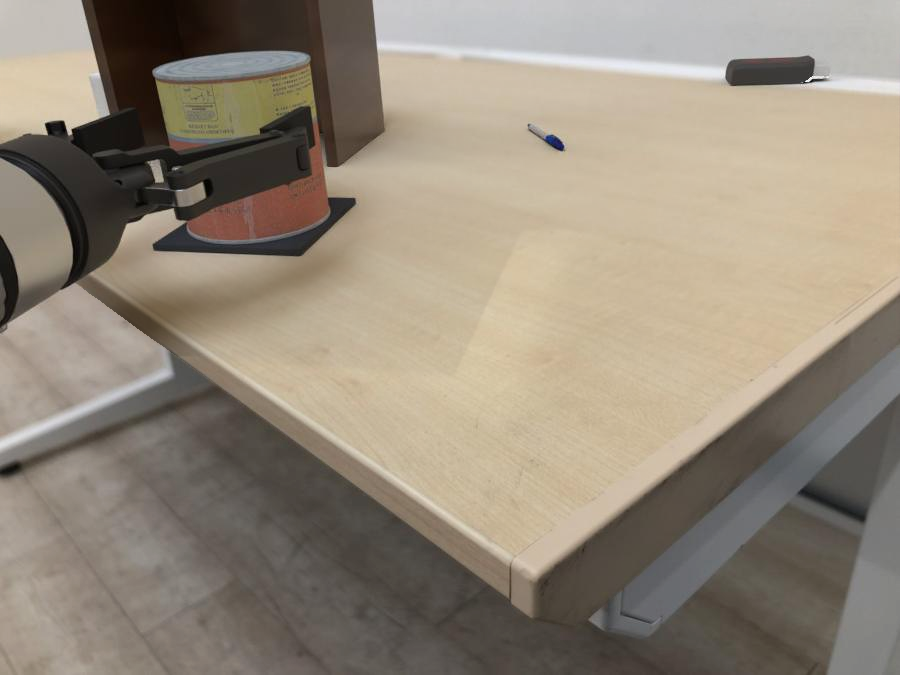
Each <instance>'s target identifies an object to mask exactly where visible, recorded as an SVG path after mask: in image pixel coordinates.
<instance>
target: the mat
mask: <svg viewBox="0 0 900 675" xmlns="http://www.w3.org/2000/svg"><path fill="white" fill-rule="evenodd" d="M327 197H328V205H329V206H330V211H331V213H330V216H329V217H328V219H327V220H326V221H325V222H324V223H322V224H321V225H319V226H317V227H316V228H314V229H312V230H309V231H307V232H304V233H302V234H299V235H296V236H292V237H289V238H284V239H280V240H275V241H270V242H263V243H255V244H242V245H225V244H214V243H208V242H203V241H200V240H197V239H195V238H193V237H192V236H190V234H189V233H188V231H187V221H185V222H184V223H183V224H181V225H179V226H178V227H177V228H175V229H173V230H172V231H170V232H168V233H167V234H166V235H164V236H163V237H161V238H159V239H157V241H155V242H153V243H152V245H151V246H152V248H153V250H154V251H169V252H170V251H171V252H196V253H221V254H245V255H246V254H247V255H271V256H273V255H276V256H298V257H300V256H301V255H303V254H304V253H305V252H306V251H307V250H308V249H309V248H310V247H311V246H312V245H313V244H315V242H316V241H317V240H318V239H319V238H321V237H322V236H323V235H324V234H325V233H326V232H327V231H328V230H329V229H331V227H332V226H333V225H335V224H336V223H337V222H338V221H339V220H340V219H341V218H342V217H343V216H344V215H345V214H346V213H347V212H349V211H350V209H352V208H353V207H354V206H355V205H356V204H357V200H356V197H341V196H340V197H339V196H338V197H336V196H335V197H333V196H332V197H331V196H327Z"/></svg>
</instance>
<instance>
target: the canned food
mask: <svg viewBox="0 0 900 675" xmlns="http://www.w3.org/2000/svg"><path fill="white" fill-rule="evenodd" d="M152 73H153V76H154V77H155V80H156V84H157V89H158V94H159V98H160V103H161V107H162V112H163V116H164V121H165V125H166V130H167V134H168V139H169V144H170V146H169V147H170V148H172V149H174V150H175V151H178V150H183V149H188V148H193V147H198V146H203V145H208V144H213V143H218V142H223V141H228V140H233V139H238V138H243V137H248V136H253V135H258V134H260V130H259V128H261V127H263V126H265V125H267V124H269V123H270V122H272V121H274V120H276V119H278V118H280V117H282V116H283V115H285V114H287V113H289V112H291V111H293V110H295V109H296V108H298V107H300V106H311V114H312V121H313V128H314V136H315V143H316V145H315V146H314V147H312V148H311V149H310V150H309V151H310V158H311V166H312V173H313V174H312V175H311V176H309V177H307V178H304V179H300V180H297V181H294V182H292V183H291V184H290V185H287V186H286V184H285V185H282V186H279V187H276V188H273V189H270V190H267V191H264V192H261V193H258V194H255V195H252V196H249V197H246V198H243V199H240V200H237V201H234V202H231V203H228V204H225V205H222V206H219V207H216V208H214V209H212V210H210V211H208V212H206V213H204V214H203V215H201V216H199V217H197V218H195V219H192V220H190V221H186V222H187V231H188V233H189V234H190V236H192V237H193V238H195V239H197V240H200V241H203V242H208V243H214V244H225V245H242V244H255V243H263V242H270V241H275V240H280V239H284V238H289V237H292V236H296V235H299V234H302V233H304V232H307V231H309V230H312V229H314V228H316V227H317V226H319V225H321V224H322V223H324V222H325V221H326V220H327V219H328V217H329V216H330V213H331V211H330V206H329V205H328V197H329V196H328V191H327V185H326V184H327V183H326V176H325V175H326V174H325V168H324V161H323V153H322V145H321V138H320V132H319V129H318V122H317V114H316V107H315V99H314V92H313V84H312V77H311V69H310V56H309V55H308V54H306V53H302V52H294V51H252V52H238V53H227V54H218V55H210V56H203V57H196V58H190V59H185V60H180V61H176V62H171V63H168V64H164V65H161V66H159V67H157V68H155V69H154V70H153V71H152Z"/></svg>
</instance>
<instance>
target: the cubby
mask: <svg viewBox="0 0 900 675" xmlns="http://www.w3.org/2000/svg"><path fill="white" fill-rule="evenodd" d="M80 1H81V4H82V9H83V13H84V17H85V21H86V24H87V29H88V33H89V37H90V41H91V44H92V49H93V53H94V57H95V62H96V65H97V69H98V72H99V73H100V77H101V81H102V85H103V89H104V93H105V97H106V101H107V105H108V109H109V113H110V114H113V113H116V112H119V111H121V110H124V109H127V108H137V110H138V115H139V119H140V123H141V128H142V132H143V136H144V140H145V145H144V146H142V147H140V148H138V149H142V148H147V147H152V146H157V145H165V146H168V147H170V144H169V139H168V134H167V130H166V125H165V121H164V116H163V112H162V107H161V103H160V98H159V94H158V89H157V84H156V80H155V77H154V76H153V73H152V71H153V70H154V69H155V68H157V67H159V66H161V65H164V64H168V63H171V62H176V61H180V60H185V59H190V58H196V57H203V56H210V55H218V54H227V53H238V52H252V51H294V52H302V53H306V54H308V55H309V56H310V69H311V77H312V84H313V92H314V99H315V107H316V114H317V122H318V129H319V133H322V138H323V145H324V152H325V159H326V166H327V167H339V166H341V165H342V164H343V163H345V162H346V161H347V160H349V159H350V158H352V156H353V155H355V154H356V153H357V152H359V151H360V150H361V149H363V148H364V147H365V146H366V145H368V144H369V143H370V142H372V141H373V140H375V138H377V137H378V136H379V135H381V134H382V133H383V132H384V131H386V129H385V128H386V126H385V116H384V108H383V107H384V106H383V96H382V95H383V94H382V86H381V76H380V75H381V74H380V65H379V53H378V52H379V51H378V43H377V31H376V22H375V11H374V10H375V9H374V1H373V0H80ZM135 150H137V149H135Z"/></svg>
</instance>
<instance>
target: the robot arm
mask: <svg viewBox="0 0 900 675" xmlns="http://www.w3.org/2000/svg"><path fill="white" fill-rule="evenodd" d="M44 126H45V130H46V134H41V133H40V134H39V133H36V134H35V133H33V134H32V133H31V132H30V133H23V134H22V135H21V136H18V137H16V138H13V139H10V140H7V141H6V142H1V143H0V335H2V334H4V332H6V331H7V330H8V324H9V323H11V322H12V321H14V320H16V319H18V318H19V317H20V316H22V315H24V314H25V313H27V312H29V311H30V310H31V309H33V308H35V307H36V306H38V305H40V304H41V303H43V302H44V301H46V300H48V299H49V298H51V297H52V296H55V294H57V293H58V292H60V291H63V290H64V289H67V288H69V287H70V286H72V285H74V284H75V283H77V282H78V281H80V280H82V279H83V278H85V277H86V276H88V275H89V274H91V273H92V272H94V271H96V270H97V269H99V268H100V267H102V266H104V265H105V264H106V263H108V262H109V261H110V260H111V258H113V256H114V255H115V253H116V252H117V251H118V248H119V246H120V244H121V240H122V238H123V235H124V232H125V229H126V228H127V225H128V224H132V223H133V224H134V223H136V222H139V221H141V220H142V219H143V218H144V217H145V216H147V215H152V214H155V213H160V212H164V211H168V210H172V209H173V213H174V216H175V220H177V221H180V222H182V221H183V222H187V221H190V220H192V219H195V218H197V217H199V216H201V215H203V214H204V213H206V212H208V211H210V210H212V209H214V208H216V207H219V206H222V205H225V204H228V203H231V202H234V201H237V200H240V199H243V198H246V197H249V196H252V195H255V194H258V193H261V192H264V191H267V190H270V189H273V188H276V187H279V186H282V185H285V184H286V186H287V185H290V184H291V183H292V182H294V181H297V180H300V179H304V178H307V177H309V176H311V175H312V174H313V173H312V166H311V158H310V151H309V150H310V149H311V148H312V147H314V146H315V145H316V143H315V136H314V128H313V121H312V114H311V106H300V107H298V108H296V109H295V110H293V111H291V112H289V113H287V114H285V115H283V116H282V117H280V118H278V119H276V120H274V121H272V122H270V123H269V124H267V125H265V126H263V127H261V128H259V130H260V134H258V135H253V136H248V137H243V138H238V139H233V140H228V141H223V142H218V143H213V144H208V145H203V146H198V147H193V148H188V149H183V150H178V151H175V150H174V149H172V148H170V146H169V147H168V146H165V145H157V146H152V147H147V148H142V149H138V148H140V147H142V146H144V145H145V140H144V136H143V132H142V128H141V123H140V119H139V115H138V110H137V108H127V109H124V110H121V111H119V112H116V113H113V114H110V115H108V116H105V117H102V118H100V119H99V118H97V119H94V120H91V121H89V122H86V123H84V124H81V125H78V126H76V127H73V128H71V129H70V130H71V134H69V132H68V129H67V125H66V122H65V120H63V119H62V120H61V119H59V120H52V121H51V120H50V121H47V122H44ZM135 149H137V150H135ZM157 160H158V161H159V165H160V171H161V174H162V178H163V181H159V182H157V181H156V177H155V174H154V172H153V167H152V166H151V164H150V163H149V162H153V161H157Z"/></svg>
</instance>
